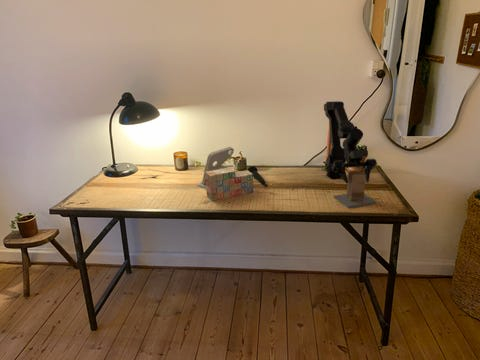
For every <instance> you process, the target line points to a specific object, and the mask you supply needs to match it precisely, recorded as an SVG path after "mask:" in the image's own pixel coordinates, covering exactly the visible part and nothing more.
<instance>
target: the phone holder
mask: <svg viewBox="0 0 480 360" xmlns="http://www.w3.org/2000/svg"><path fill="white" fill-rule="evenodd" d="M232 155H234V148H233V147H231V146H227V147H224V148H220V149H219V150H216V151H213V152H210V153H209V154H208V156H207V159H206V163H205V168H204V171H203V177H202V181H201V182H198V183H197V187H200V188H203V189H206V173H205V172H207V171H213V170H218V169H224V168H229V166H227V165H226V166H225V165H223V164H224V163H226V161H228V159H230V158H231V156H232ZM214 163H215V165H214ZM230 168H231V169H233V168H232V167H230Z"/></svg>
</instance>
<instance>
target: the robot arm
mask: <svg viewBox="0 0 480 360" xmlns="http://www.w3.org/2000/svg"><path fill="white" fill-rule="evenodd" d="M323 111H324V114H325V117H326V118H327V119H328V123H329V134H330V137H329V138H330V149H329V151H328V156H327V158H326V159H325V165H326V166H327V168H326V169H327V171H326V175H325V176H326V177H328V178H330V179H331V180H337V179H342V180H343V181H344V183H346V184H347V185H348V175H347V171H346V168H361V167H362V168H363V173H364V174H365V175H366V180H365V182H366V183H369V182H370V176H371V175H370V174H371V172H372V170H373V169H374V168H375V167H376V166H377V165H378V163H377V160H376V159H375V158H367V159H366V160H365V161H362V160H363V159H365V157H367V156H368V155H369V151H368V148H362V149H358V146H357V145H358V144H359V143H360V142H361V140H362V139H363V137H364V133H363V131H362V130H361V129H359V128H358V126H357V125H356V126H355V125H354V123H353V122H351V120H350V119H349V118H348V115H347V111H346V109H345V103H344V101H339V100H338V101H337V100H336V101H333V100H332V101H325V103H324V104H323ZM341 139H342V140H343V141H342V143H341ZM341 144H342V145H341Z"/></svg>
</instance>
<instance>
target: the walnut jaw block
mask: <svg viewBox="0 0 480 360" xmlns="http://www.w3.org/2000/svg"><path fill="white" fill-rule="evenodd" d="M347 179H348V183H347V188H346V194H347V197H348V199H349V200H350V201H364V194H365V190H366V175H365V174H364V171H362V170H351V171H350V170H349V171H348V175H347Z"/></svg>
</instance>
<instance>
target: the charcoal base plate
mask: <svg viewBox="0 0 480 360" xmlns="http://www.w3.org/2000/svg"><path fill="white" fill-rule="evenodd" d="M333 199H335V200H337V201H338V202H339V203H340V204H342V205H343V206H344V207H346V208H347V209H352V208H353V209H354V208H359V207H364V206H365V207H366V206H370V205H376V204H377V203H378V201H377V200H375V199H374V198H372V197H371V196H369V195H368V194H366V193H364V201H350V200H349V199H348V197H347V193H343V194H342V193H341V194H337V195H333Z"/></svg>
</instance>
